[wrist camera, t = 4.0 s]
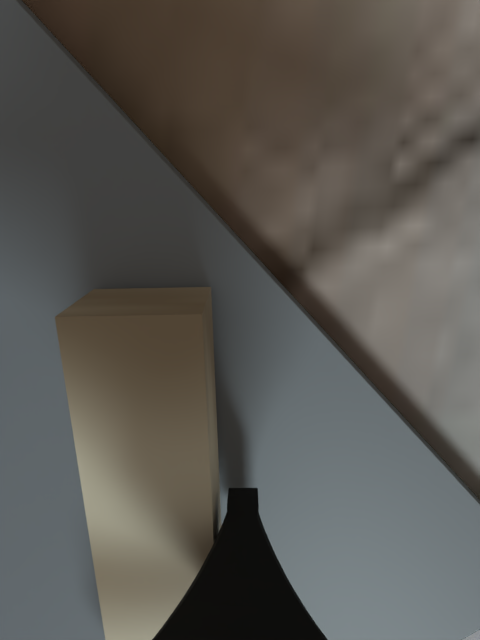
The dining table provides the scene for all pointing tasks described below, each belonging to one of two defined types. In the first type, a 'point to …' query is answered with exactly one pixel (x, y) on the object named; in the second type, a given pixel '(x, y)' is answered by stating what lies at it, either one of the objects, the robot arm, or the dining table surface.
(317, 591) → the charcoal board
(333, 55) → the dining table surface
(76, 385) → the wooden link
